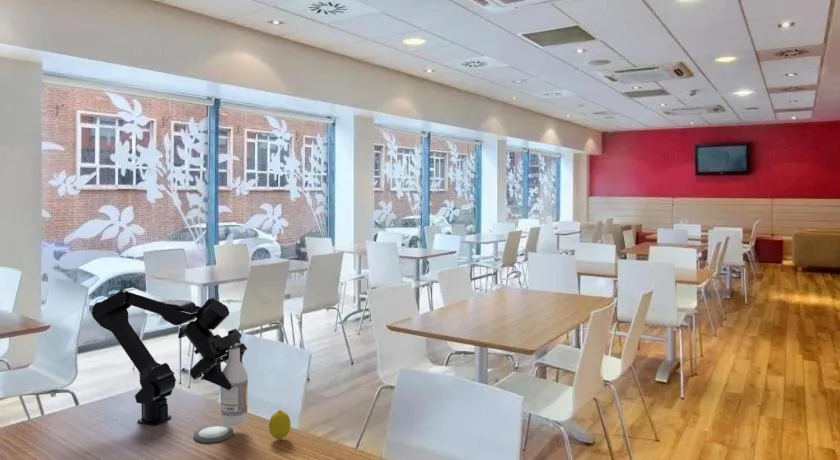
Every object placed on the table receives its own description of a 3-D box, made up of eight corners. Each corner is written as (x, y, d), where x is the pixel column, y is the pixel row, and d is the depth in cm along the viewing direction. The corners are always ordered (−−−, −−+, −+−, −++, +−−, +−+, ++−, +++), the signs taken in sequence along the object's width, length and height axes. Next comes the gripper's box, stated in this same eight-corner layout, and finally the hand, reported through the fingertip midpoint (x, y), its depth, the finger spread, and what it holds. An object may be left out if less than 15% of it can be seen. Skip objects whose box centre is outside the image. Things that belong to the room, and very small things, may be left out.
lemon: (285, 445, 156) (285, 415, 155) (265, 443, 157) (265, 413, 156) (293, 436, 161) (293, 407, 160) (274, 434, 162) (274, 405, 161)
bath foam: (248, 424, 161) (248, 351, 159) (220, 427, 159) (221, 352, 157) (246, 414, 168) (247, 344, 166) (220, 417, 165) (220, 345, 164)
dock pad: (185, 439, 158) (185, 436, 158) (210, 425, 168) (210, 422, 168) (216, 445, 155) (216, 442, 155) (240, 431, 164) (240, 427, 164)
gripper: (200, 329, 153) (237, 377, 151) (241, 314, 171) (275, 357, 169) (173, 356, 156) (210, 403, 154) (217, 338, 174) (250, 381, 172)
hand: (238, 384), depth 162 cm, fingers closed on bath foam, 7 cm apart
